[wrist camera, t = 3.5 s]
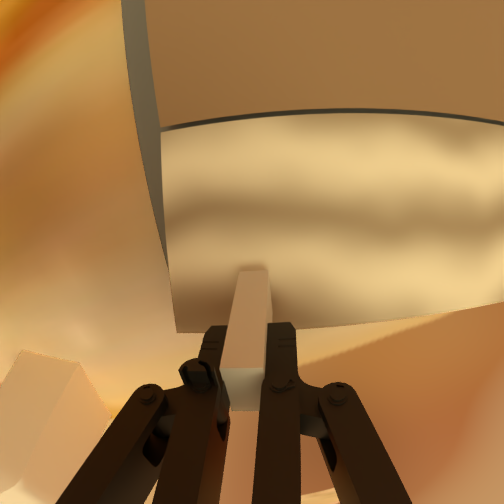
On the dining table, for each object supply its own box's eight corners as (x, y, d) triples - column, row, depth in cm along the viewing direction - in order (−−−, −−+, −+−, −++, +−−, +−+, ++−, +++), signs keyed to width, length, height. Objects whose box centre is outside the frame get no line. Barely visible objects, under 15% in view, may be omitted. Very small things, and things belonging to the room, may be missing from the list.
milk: (111, 414, 39) (61, 557, 16) (56, 400, 40) (1, 520, 17) (79, 362, 33) (-1, 532, 10) (22, 349, 34) (-57, 483, 11)
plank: (172, 140, 19) (160, 132, 17) (541, 141, 16) (555, 137, 14) (186, 323, 20) (176, 332, 18) (550, 282, 16) (564, 286, 15)
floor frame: (125, -31, 14) (107, -43, 11) (532, -3, 10) (551, -6, 7) (186, 315, 27) (178, 338, 25) (520, 282, 23) (534, 298, 21)
